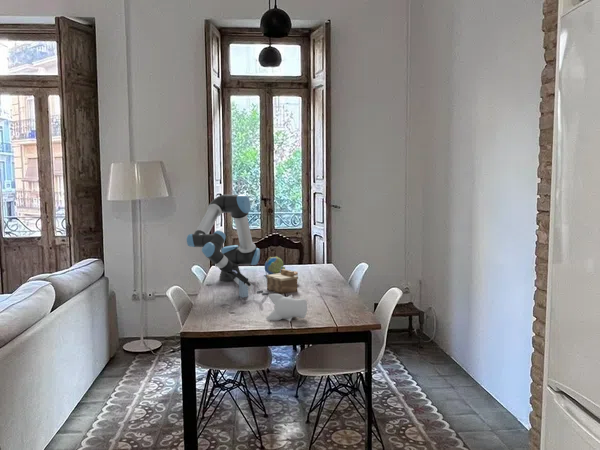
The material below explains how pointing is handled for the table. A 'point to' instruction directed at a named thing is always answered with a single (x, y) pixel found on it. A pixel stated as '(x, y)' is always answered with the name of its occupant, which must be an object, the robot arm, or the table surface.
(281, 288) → the toolbox
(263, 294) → the pair of grey bars
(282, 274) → the lid
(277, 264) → the globe
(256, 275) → the table surface
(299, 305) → the fox head
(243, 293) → the blue-grey block
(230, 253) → the robot arm
